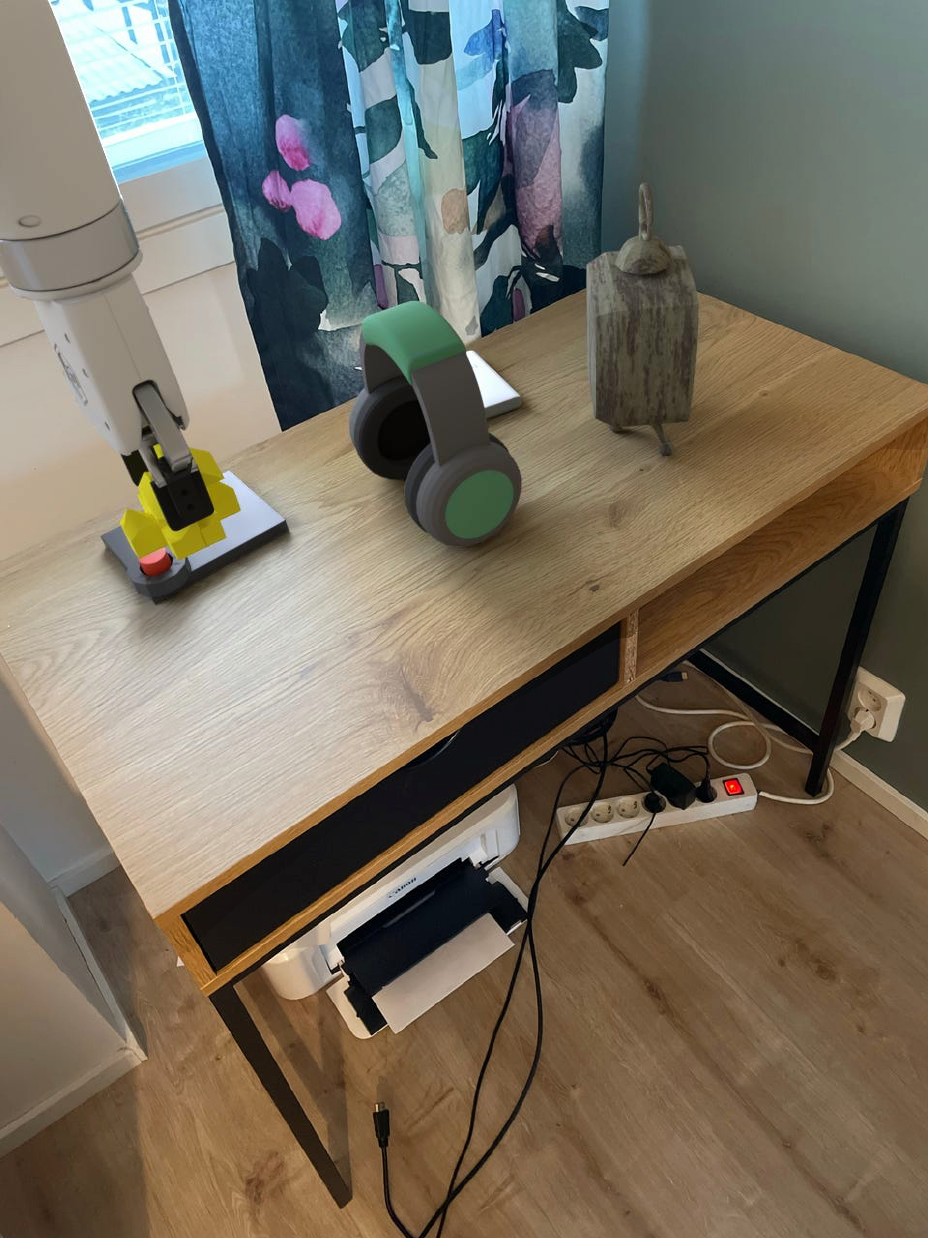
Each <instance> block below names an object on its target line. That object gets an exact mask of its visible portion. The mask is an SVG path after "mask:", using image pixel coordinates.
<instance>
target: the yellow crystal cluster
mask: <svg viewBox="0 0 928 1238" xmlns="http://www.w3.org/2000/svg"><path fill="white" fill-rule="evenodd" d="M153 447H154V449H155V452H156V454H157V456H158V459H159V458H160V457H162V456H164V455H163V452H162V449H161V446H160V444H157V445H155V446H153ZM188 447H189V449H190V451H191V453H192V455H193V458H194V460H195V462H196V464H197V465H198V468H199V470H200V473H201V475H202V478H203V481H204V483H205V486H206V488H207V491H208V494H209V496H210V499H211V501H212V504H213V507H214V513H213V514H212V515H210V516H208V517H206V518H204V519H202V520H200V521H198V522H196V523H194V524H192V525H189V526H187V527H185V528H183V529H181V530H179V531H172V530H171V528H170V527H169V526H168V524H167V521H166V519H165V517H164V515H163V512H162V510H161V508H160V505H159V503H158V501H157V499H156V496H155V494H154V492H153V490H152V487H151V485H150V483H149V482H152V481H154V480H153V478H152V476H151V474H150V472H144V474H143V476H142V479H141V481H140V484H139V486H137V488H138V491H139V492H138V493H136V495H137V497H138V500H139V502H140V504H141V506H142V508H143V511H142V510H136V509H132V508H126V509H125V512H124V513H123V515H122V518H121V519H120V521H119V526H121V527H122V529H123V531H124V533H125V535H126V537H127V539H128V541H129V543H130V545H131V547H132V549H133V550H134V552H135V553H136V555H137V556H138V558H139V559H141V558H143V557H145V556H147V555H149V554H151V553H153V552H155V551H158V550H160V549H162V548H164V547H166V546H168V547H169V549H170V550H171V551H172V553H173V554H174V555H175V557H176V558H177V559H178V561H180V560H182V559H184V558H186V557H188V556H190V555H192V554H194V553H196V552H198V551H200V550H202V549H204V548H206V547H209V546H211V545H213V544H215V543H217V542H219V541H221V540H223V539H225V538H227V537H226V534H225V531H224V529H223V526H222V523H221V520H223V519H225V518H227V517H229V516H231V515H234V514H236V513H238V512H240V511H241V508H240V505H239V503H238V500H237V497H236V494H235V492H234V489H233V488H232V487H230V486H228V485H227V484H226V483H223V482H220V481H221V480H223V479H225V478H224V476H223V473H222V471H221V469H220V467H219V466H218V464H217V462H216V460H215V458H214V457H213V454H212V453H211V451H207V450H203V449H199V448H195V447H190V446H188Z"/></svg>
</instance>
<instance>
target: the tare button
mask: <svg viewBox="0 0 928 1238" xmlns="http://www.w3.org/2000/svg"><path fill="white" fill-rule="evenodd" d="M138 560H139V562H140V564H141V566H142V568H143V571H144V572H145V574H147V575H149V576H154V575H159V574H161V573H163V572H165V571H167V570H168V569H169V568H170V566H171V560H170V558H169V556H168V554H167V552H166V549H165V548H162V549H160V550H158V551H155V552H153V553H151V554H149V555H147V556H145V557H143V558H141V559H139V558H138Z"/></svg>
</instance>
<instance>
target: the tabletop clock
mask: <svg viewBox="0 0 928 1238" xmlns="http://www.w3.org/2000/svg"><path fill="white" fill-rule="evenodd" d="M653 203H654V202H653V194H652V191H651V188H650V185H649V184H648V182H647V181H643V182H642V183H641V184H639V189H638V235H636V236H633V237H631V238H628V239H627V240H626V242H624V243H623V245H622V246H621V248H620V250H614V251H613V250H612V251H607V252H606V251H604V252H603V253H601V254H600V255H599V256H597V257H595V258H594V259H593V260H591V261H590V262H588V263H587V264H586V275H585V276H586V283H585V286H586V290H585V291H586V293H585V294H586V297H585V299H586V306H585V307H586V310H585V311H586V362H587V374H588V381H589V390H590V397H591V405H592V411H593V416H594V419H595V420H598V421H599V422H602V423H604V424H606V425H607V428H609V430H610V431H612V432H619V431H620V430H622V428H626V427H640V426H650V427H652V428H653V430H654V432H655V433H656V436H657V437H658V439H659V441H660V442H661V443H660V444H659V446H658V452H659V454H660V455H661V456H663V457H671V456H672V455H674V453H675V450H676V445H675V444H674V443H673V442H672V441H670V440H667V438H666V435H665V432H664V428H663V425H665V424H678V423H689V420H690V416H691V409H692V405H693V404H692V403H693V395H694V388H695V387H694V386H695V377H696V365H697V354H698V353H697V350H698V339H699V338H698V335H699V299H698V291H697V286H696V282H695V279H694V278H695V277H694V275H693V272H692V268H691V265H690V261H689V259H688V257H687V254H686V252H685V249H684V247H683V246H682V245H678V244H677V245H668V244H667V243H665V242H664V241H663V240H662V239H661V238H660V237H659V236H656V235H653V229H654V204H653Z"/></svg>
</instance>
